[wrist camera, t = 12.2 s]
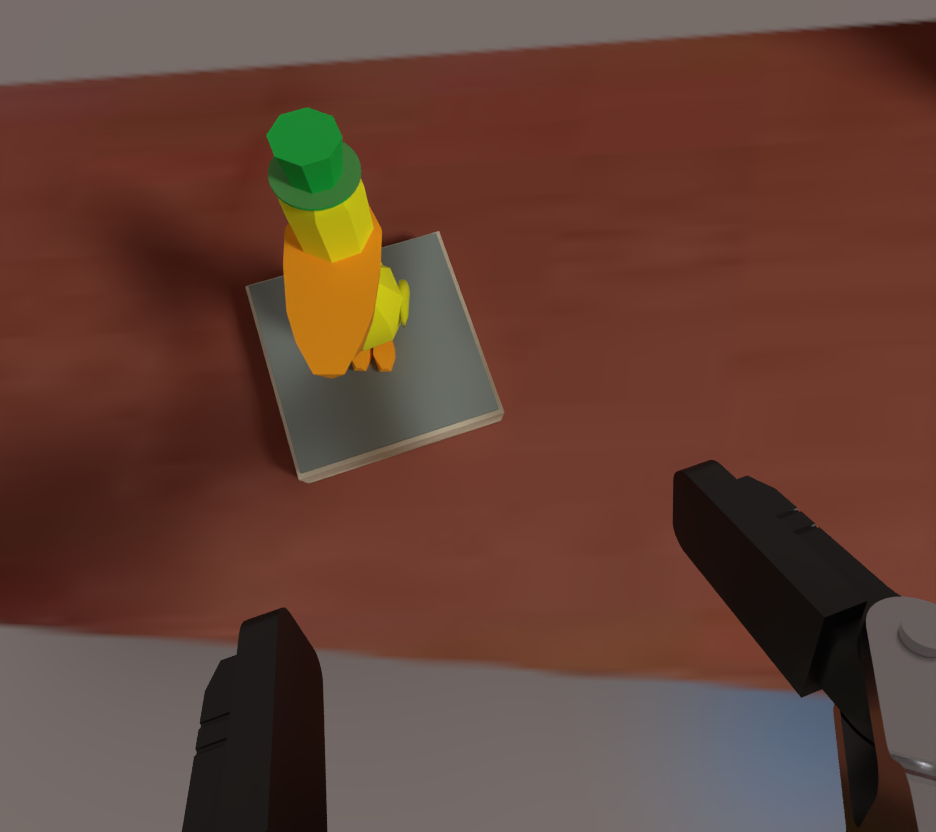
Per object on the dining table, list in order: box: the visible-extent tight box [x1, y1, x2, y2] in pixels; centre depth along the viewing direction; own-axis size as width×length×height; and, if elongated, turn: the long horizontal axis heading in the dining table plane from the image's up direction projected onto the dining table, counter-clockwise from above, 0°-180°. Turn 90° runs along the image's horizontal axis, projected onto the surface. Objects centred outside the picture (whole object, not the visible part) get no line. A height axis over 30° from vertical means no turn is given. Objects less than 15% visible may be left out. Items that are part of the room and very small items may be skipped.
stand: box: [245, 231, 504, 483], centre depth 24 cm, size 9×9×2 cm
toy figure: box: [266, 107, 410, 379], centre depth 17 cm, size 7×4×12 cm, turn 1°
